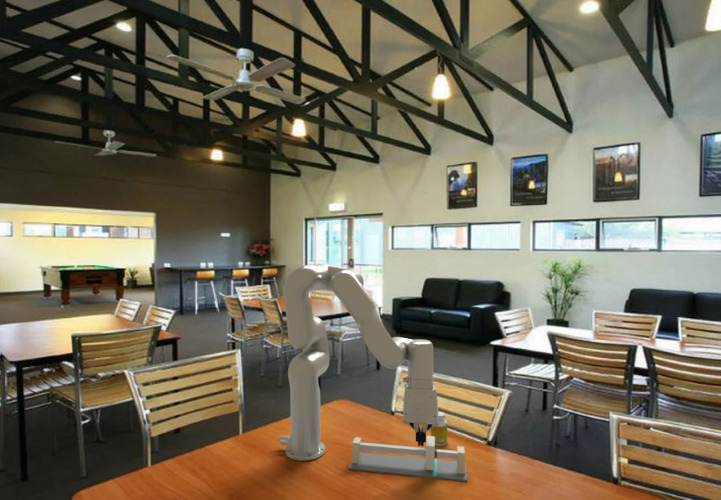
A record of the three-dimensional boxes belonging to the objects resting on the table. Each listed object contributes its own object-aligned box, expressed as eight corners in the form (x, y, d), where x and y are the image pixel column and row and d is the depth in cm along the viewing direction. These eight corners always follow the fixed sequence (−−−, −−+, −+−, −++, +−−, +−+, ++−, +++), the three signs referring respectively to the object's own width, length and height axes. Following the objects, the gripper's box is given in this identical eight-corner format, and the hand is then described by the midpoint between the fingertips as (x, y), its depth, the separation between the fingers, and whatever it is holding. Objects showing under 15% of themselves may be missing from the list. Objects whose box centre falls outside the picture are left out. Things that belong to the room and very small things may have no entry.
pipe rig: (348, 469, 124) (348, 447, 124) (355, 453, 134) (355, 433, 134) (467, 481, 117) (467, 458, 117) (465, 463, 127) (465, 442, 127)
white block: (425, 469, 121) (425, 445, 121) (426, 458, 128) (426, 435, 128) (434, 470, 121) (434, 446, 121) (434, 458, 127) (434, 436, 127)
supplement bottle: (447, 447, 138) (447, 417, 138) (430, 445, 139) (430, 416, 139) (447, 439, 143) (447, 411, 144) (431, 438, 145) (431, 410, 145)
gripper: (394, 384, 123) (394, 447, 123) (446, 387, 120) (446, 452, 120) (396, 377, 130) (397, 436, 130) (446, 379, 127) (446, 440, 127)
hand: (420, 444), depth 125 cm, fingers closed
